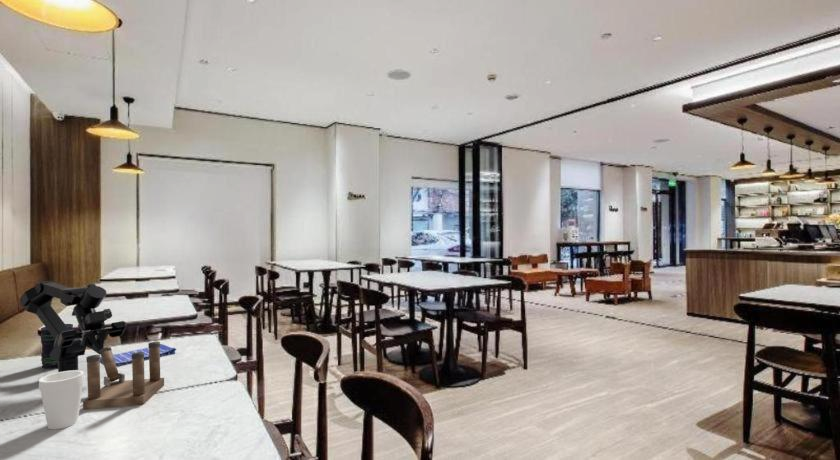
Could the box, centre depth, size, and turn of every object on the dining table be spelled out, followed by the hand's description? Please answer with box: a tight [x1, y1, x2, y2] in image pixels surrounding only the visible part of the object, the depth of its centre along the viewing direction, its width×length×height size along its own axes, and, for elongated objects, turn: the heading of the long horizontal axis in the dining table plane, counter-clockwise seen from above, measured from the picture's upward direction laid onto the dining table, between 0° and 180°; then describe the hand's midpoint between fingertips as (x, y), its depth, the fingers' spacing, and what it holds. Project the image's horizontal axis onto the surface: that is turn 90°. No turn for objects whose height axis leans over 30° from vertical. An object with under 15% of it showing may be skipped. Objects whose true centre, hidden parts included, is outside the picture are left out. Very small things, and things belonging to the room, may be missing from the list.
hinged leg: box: [99, 346, 120, 382], centre depth 143 cm, size 3×3×11 cm
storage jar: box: [40, 323, 74, 370], centre depth 170 cm, size 10×10×15 cm
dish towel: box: [100, 343, 177, 368], centre depth 180 cm, size 17×24×3 cm
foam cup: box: [38, 369, 85, 430], centre depth 118 cm, size 10×9×13 cm
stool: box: [82, 341, 165, 410], centre depth 137 cm, size 17×17×15 cm
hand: (101, 353), depth 147 cm, fingers closed
